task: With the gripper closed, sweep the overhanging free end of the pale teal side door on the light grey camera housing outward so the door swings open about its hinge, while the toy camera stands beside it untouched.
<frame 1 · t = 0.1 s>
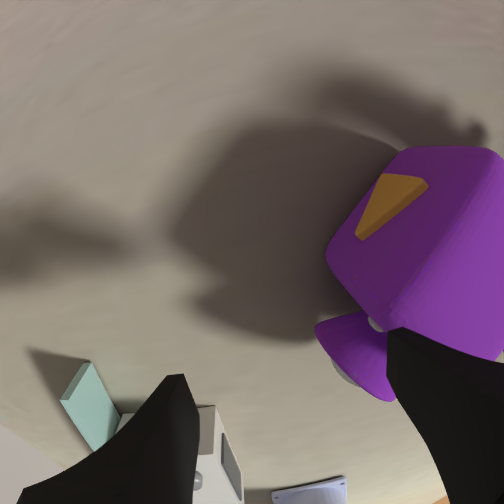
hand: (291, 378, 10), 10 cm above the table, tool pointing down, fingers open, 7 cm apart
toy camera: (389, 257, 20), on the table
side door: (118, 451, 21), point 3 cm above the table, hinge at 0.0°
camera housing: (186, 449, 24), on the table
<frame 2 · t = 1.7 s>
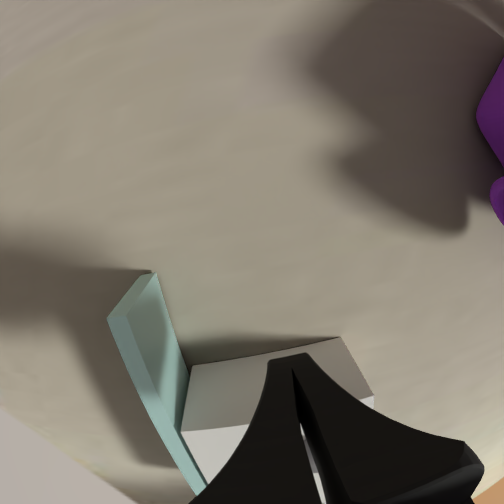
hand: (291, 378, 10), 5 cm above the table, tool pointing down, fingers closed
side door: (184, 427, 14), point 3 cm above the table, hinge at 0.0°
camera housing: (280, 417, 18), on the table
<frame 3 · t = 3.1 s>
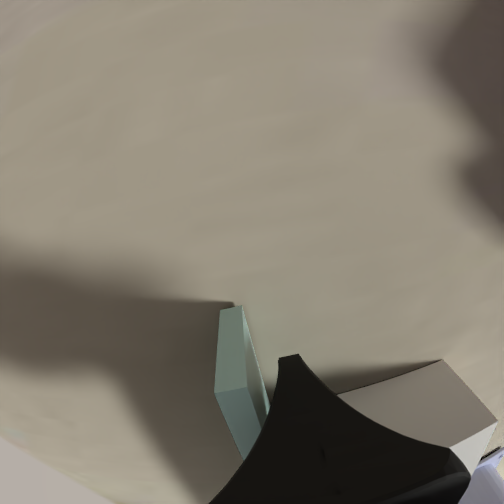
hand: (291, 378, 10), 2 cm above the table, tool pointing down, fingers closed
side door: (275, 479, 11), point 2 cm above the table, hinge at 2.3°, touching gripper
camera housing: (368, 447, 15), on the table
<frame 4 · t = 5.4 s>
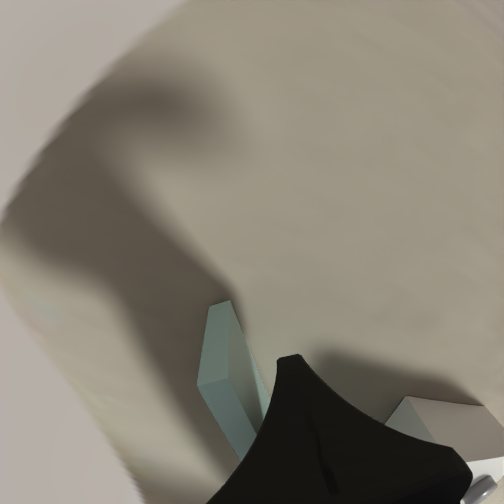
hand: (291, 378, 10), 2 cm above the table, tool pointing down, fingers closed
side door: (280, 474, 11), point 2 cm above the table, hinge at 40.2°, touching gripper
camera housing: (403, 460, 15), on the table
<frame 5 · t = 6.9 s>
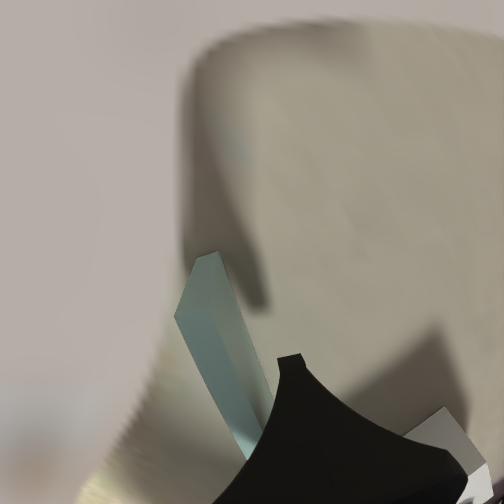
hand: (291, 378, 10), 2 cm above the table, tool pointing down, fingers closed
side door: (271, 451, 11), point 2 cm above the table, hinge at 70.3°, touching gripper
camera housing: (393, 475, 16), on the table
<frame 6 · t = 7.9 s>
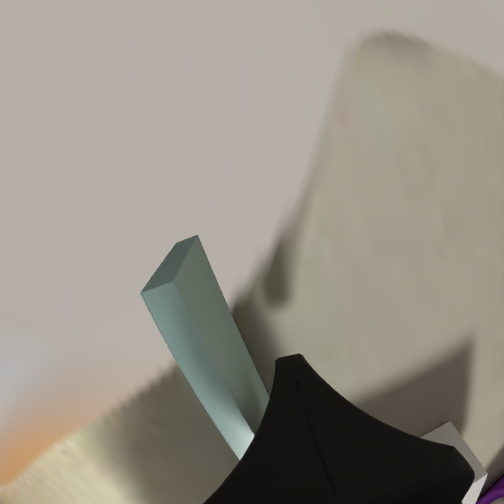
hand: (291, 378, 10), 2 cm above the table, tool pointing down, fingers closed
toy camera: (497, 484, 20), on the table
side door: (263, 441, 11), point 3 cm above the table, hinge at 89.3°, touching gripper
camera housing: (382, 484, 16), on the table
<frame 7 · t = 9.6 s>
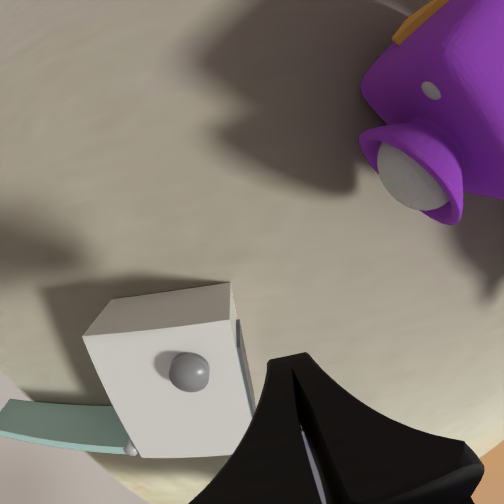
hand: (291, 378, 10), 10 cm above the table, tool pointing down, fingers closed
toy camera: (420, 115, 18), on the table
side door: (61, 425, 20), point 3 cm above the table, hinge at 89.5°
camera housing: (186, 357, 21), on the table
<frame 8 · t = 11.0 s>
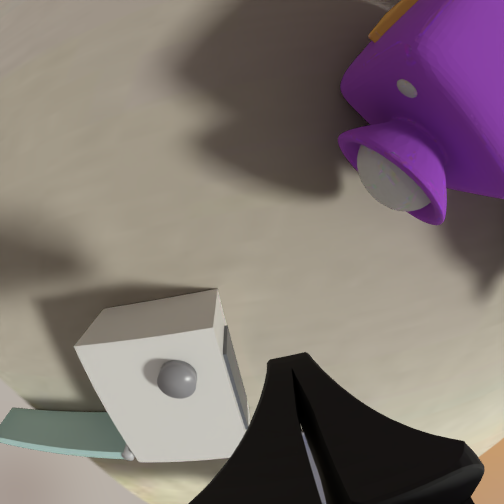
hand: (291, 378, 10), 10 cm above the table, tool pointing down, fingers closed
toy camera: (405, 112, 18), on the table
side door: (61, 432, 20), point 3 cm above the table, hinge at 89.5°
camera housing: (178, 363, 21), on the table
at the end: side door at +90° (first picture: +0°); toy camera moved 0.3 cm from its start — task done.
